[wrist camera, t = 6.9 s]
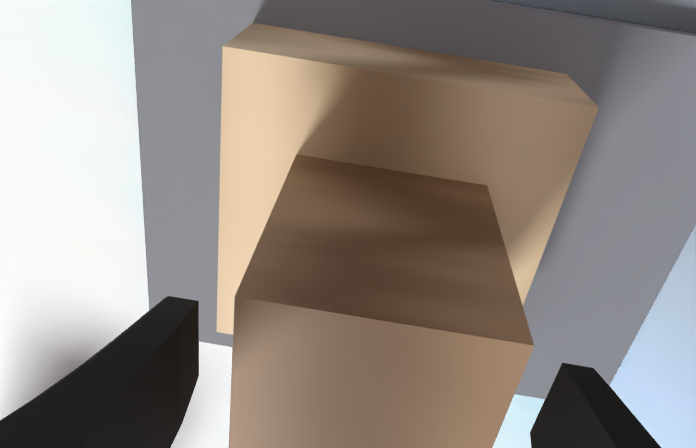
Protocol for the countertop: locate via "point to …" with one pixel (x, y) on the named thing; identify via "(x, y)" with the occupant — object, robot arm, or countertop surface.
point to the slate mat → (471, 42)
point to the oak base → (391, 133)
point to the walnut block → (376, 315)
